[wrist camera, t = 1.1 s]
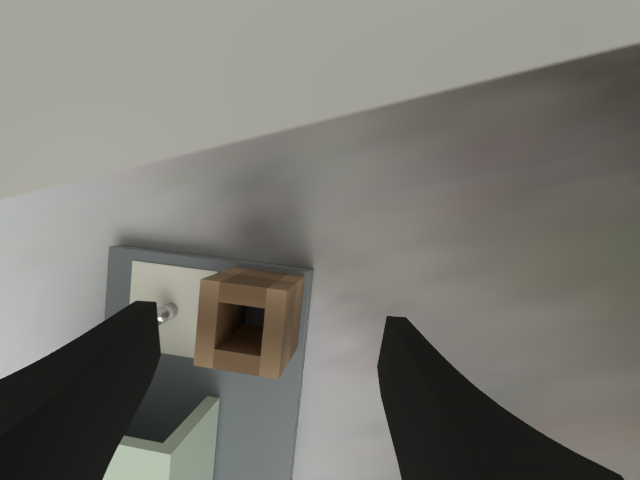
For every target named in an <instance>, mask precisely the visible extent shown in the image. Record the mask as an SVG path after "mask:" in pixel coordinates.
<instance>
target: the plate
mask: <svg viewBox="0 0 640 480" xmlns="http://www.w3.org/2000/svg"><path fill="white" fill-rule="evenodd" d="M233 267H237V268H245V269H253V270H261V271H268V272H276V273H284V274H292V275H300V276H305V278H304V288H303V298H302V308H301V318H300V328H299V338H298V347H297V350H296V351H295V353H294V355H293V356H292V358H291V360H290V361H289V363H288V365H287V366H286V368H285V370H284V371H283V373H282V375H281V376H280V378H279V379H273V378H267V377H260V376H254V375H248V374H242V373H236V372H230V371H224V370H218V369H212V368H206V367H200V366H194V354H195V342H196V329H197V317H198V304H199V292H200V279H203V278H205V277H208V276H211V275H214V274H216V273H219V272H222V271H224V270H227V269H230V268H233ZM312 278H313V269H309V268H301V267H293V266H285V265H277V264H269V263H261V262H253V261H245V260H237V259H229V258H221V257H213V256H205V255H197V254H189V253H181V252H173V251H165V250H157V249H149V248H141V247H133V246H125V245H118V246H110V247H109V261H108V277H107V294H106V310H105V320H106V319H108V318H109V317H111V316H113V315H114V314H116V313H117V312H119V311H120V310H122V309H123V308H125V307H126V306H128V305H130V304H131V303H133V302H135V301H151V302H156V303H157V307H159V306H162V305H164V304H167V303H174V304H175V305H176V306H177V307H178V314H177V316H176V317H174V318H172V319H171V320H169V321H167V322H165V323H163V324H161V325H158V326H159V337H160V348H161V357H160V360H159V362H158V365H157V368H156V371H155V374H154V376H153V379H152V382H151V384H150V386H149V388H148V390H147V392H146V394H145V396H144V398H143V400H142V402H141V404H140V406H139V408H138V410H137V411H136V413H135V415H134V417H133V419H132V421H131V423H130V425H129V427H128V429H127V430H126V432H125V434H124V436H128V437H133V438H139V439H144V440H149V441H154V442H159V443H164V442H165V441H166V440H167V438H168V437H169V436H170V435H171V434H172V433H173V432H174V431H175V430H176V429H177V428H178V427H179V426H180V425H181V424H182V422H183V421H184V420H185V419H186V418H187V417H188V416H189V415H190V414H191V413H192V412H193V411H194V410H195V409H196V408H197V407H198V405H199V404H200V403H201V402H202V401H203V400H204V399H205V398H206V397H207V396H211V397H217V398H220V401H219V413H218V424H217V436H216V448H215V459H214V471H213V480H292V473H293V463H294V453H295V444H296V434H297V424H298V414H299V405H300V395H301V385H302V375H303V366H304V356H305V346H306V336H307V327H308V317H309V307H310V297H311V288H312ZM264 316H265V308H258V307H251V306H246V315H245V324H248V325H255V326H262V327H263V326H264Z"/></svg>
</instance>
